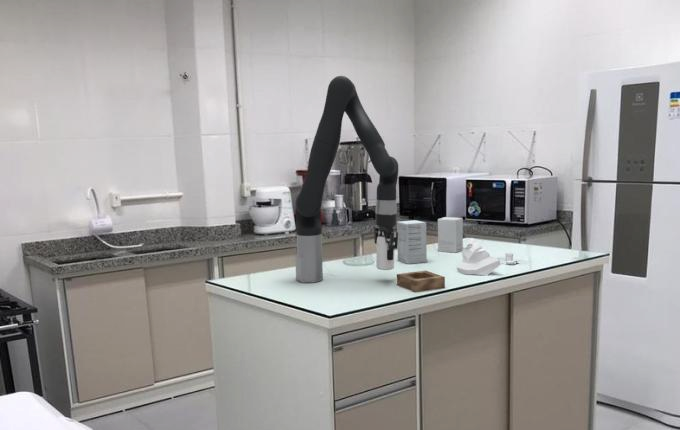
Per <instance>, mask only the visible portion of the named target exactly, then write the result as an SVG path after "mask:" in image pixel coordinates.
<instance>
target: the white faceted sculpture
mask: <svg viewBox="0 0 680 430" xmlns="http://www.w3.org/2000/svg"><path fill="white" fill-rule="evenodd" d="M461 255H462V262H461V263H460V264H459V265H457V266H456V270H457V272H458V273H461V274H464V275H479V276H486V275H487V276H488V275H489V274H491V273H492V272H494V270H496V269H498V268H499V267H500V266H501V265H502V263H500V261H501V260H500V259H497V258H496V257H495V258H494V257H491V256H490V253H489V252H488V251H487V250H485V248H483V246H482V245H480V244H479V243H478V239H476V238H473V237H471V238H470V239H469V240H468V243H467V244H466V246H465V248H463V250H461Z"/></svg>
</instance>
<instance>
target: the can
mask: <svg viewBox="0 0 680 430" xmlns="http://www.w3.org/2000/svg"><path fill="white" fill-rule="evenodd" d="M387 241H390V238H389V239H387ZM394 245H395V242H394ZM389 246H390V243H389ZM387 250H388V249H387V244H385V239H384V237H383V236H379V235H378V238H377V244H376V256H375V257H376V258H375V259H376V265H375V266H376V268H377V269H378V270H381V271H382V270H383V271H389V270H394V268H395V250H396V249H394V250H393V260H387Z"/></svg>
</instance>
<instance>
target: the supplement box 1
mask: <svg viewBox="0 0 680 430" xmlns="http://www.w3.org/2000/svg"><path fill="white" fill-rule="evenodd" d="M396 226H397V227H396V232H398V244H397V261H398V262H400V263H404V264H407V265H412V264H420V263H421V264H423V263H427V252H428V251H427V250H428V249H427V222H425V221H420V220H416V219H414V220H402V221H397V222H396Z"/></svg>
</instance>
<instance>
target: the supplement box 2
mask: <svg viewBox="0 0 680 430" xmlns="http://www.w3.org/2000/svg"><path fill="white" fill-rule="evenodd" d="M463 220H464V219H463V217H455V216H454V217H449V216H444V217H441V218H438V219H437V248H438V249H437V252H441V253H442V252H445V253H458V252H462V250H464V241H463V239H464V236H463V235H464V233H463V231H464V230H463V229H464V227H463V226H464V225H463V224H464V223H463V222H464V221H463Z"/></svg>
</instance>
